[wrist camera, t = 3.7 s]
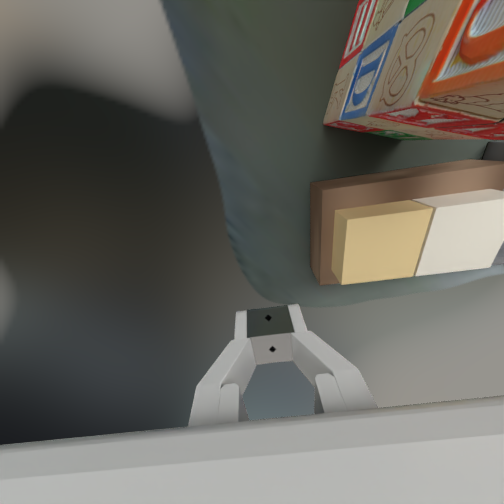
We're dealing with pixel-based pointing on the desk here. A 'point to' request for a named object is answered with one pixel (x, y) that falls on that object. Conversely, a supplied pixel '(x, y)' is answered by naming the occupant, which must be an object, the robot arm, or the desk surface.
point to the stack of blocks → (422, 70)
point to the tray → (500, 152)
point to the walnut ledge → (388, 197)
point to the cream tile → (462, 232)
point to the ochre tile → (378, 241)
